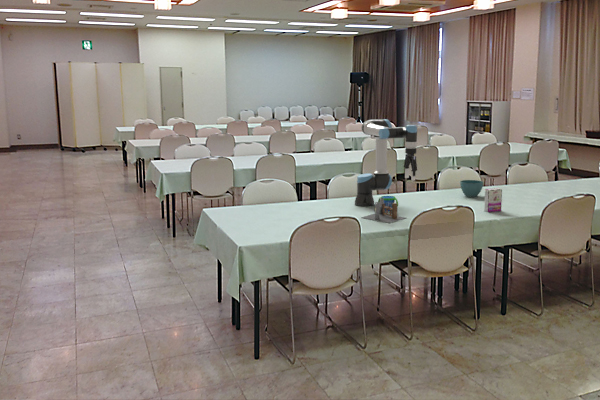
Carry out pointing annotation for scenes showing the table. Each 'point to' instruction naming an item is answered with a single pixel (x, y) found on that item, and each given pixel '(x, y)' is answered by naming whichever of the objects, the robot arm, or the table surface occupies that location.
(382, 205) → the hinge post
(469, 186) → the teal bowl
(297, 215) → the table surface
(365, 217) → the mat
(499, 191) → the candy bar box
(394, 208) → the gate
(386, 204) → the snack cup
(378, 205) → the post
